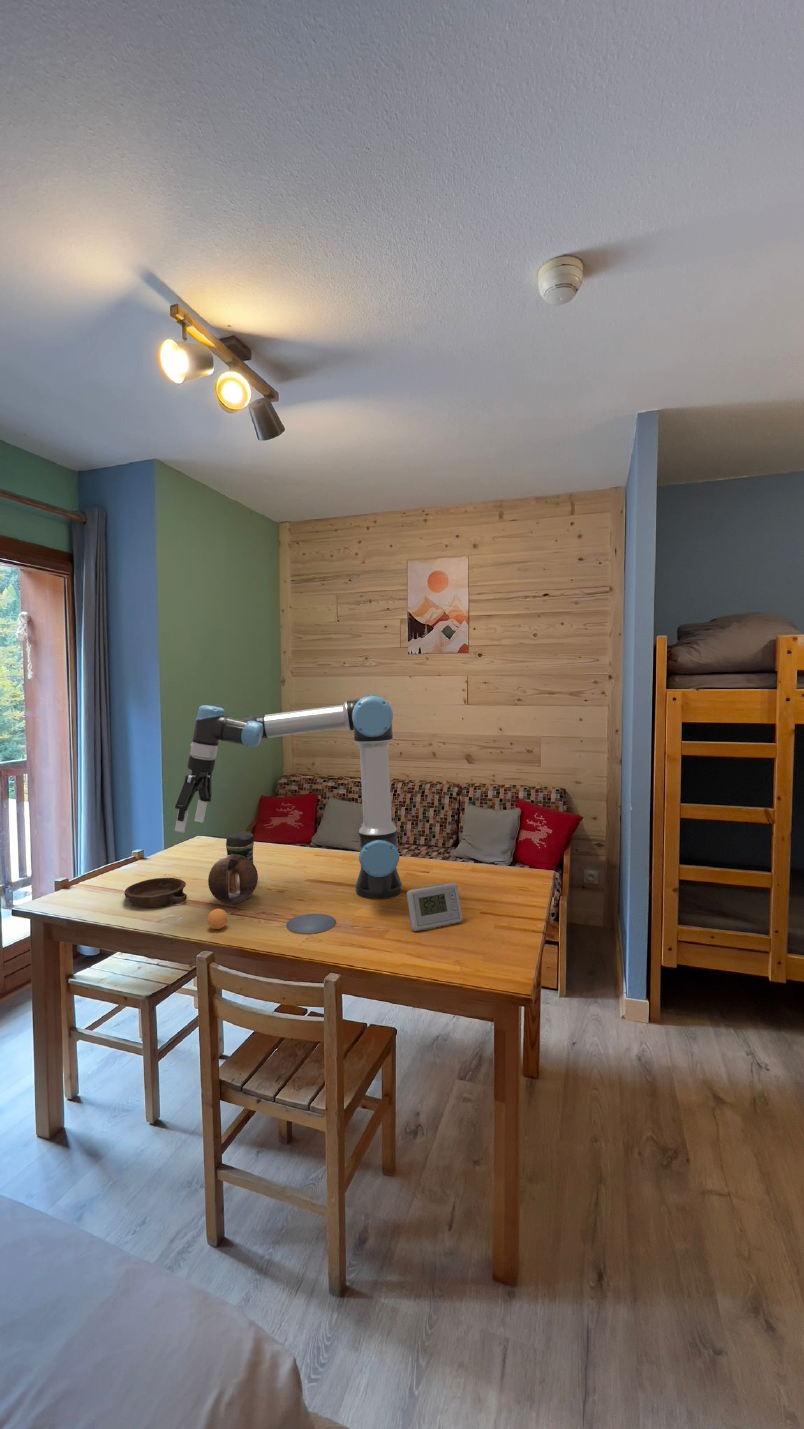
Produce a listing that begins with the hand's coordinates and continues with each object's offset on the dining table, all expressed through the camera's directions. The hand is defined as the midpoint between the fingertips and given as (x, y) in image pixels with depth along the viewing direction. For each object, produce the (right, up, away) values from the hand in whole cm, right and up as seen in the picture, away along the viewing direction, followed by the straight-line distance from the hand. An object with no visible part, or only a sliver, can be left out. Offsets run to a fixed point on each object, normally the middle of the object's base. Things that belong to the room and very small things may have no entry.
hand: (189, 826), depth 178 cm
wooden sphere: (+11, -26, +9) cm, 29 cm away
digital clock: (+73, -26, -10) cm, 78 cm away
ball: (+12, -24, -11) cm, 29 cm away
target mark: (+38, -26, -8) cm, 47 cm away
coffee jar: (+9, -25, +23) cm, 35 cm away
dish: (-15, -26, +11) cm, 32 cm away
